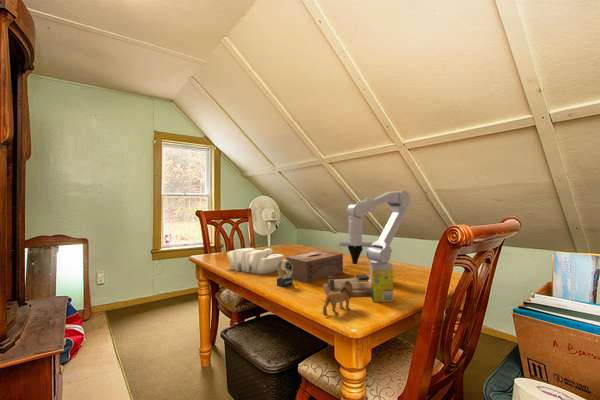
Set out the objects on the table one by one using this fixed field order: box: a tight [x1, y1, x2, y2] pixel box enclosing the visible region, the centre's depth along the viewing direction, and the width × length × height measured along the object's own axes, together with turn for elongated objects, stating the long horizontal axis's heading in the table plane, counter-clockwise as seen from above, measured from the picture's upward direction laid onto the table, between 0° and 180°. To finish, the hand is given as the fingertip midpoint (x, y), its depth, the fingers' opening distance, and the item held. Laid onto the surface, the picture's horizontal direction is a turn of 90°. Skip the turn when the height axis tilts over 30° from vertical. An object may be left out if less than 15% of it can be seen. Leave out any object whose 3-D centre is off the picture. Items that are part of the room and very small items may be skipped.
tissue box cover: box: [285, 249, 344, 284], centre depth 141 cm, size 26×14×10 cm, turn 132°
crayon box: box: [370, 270, 395, 303], centre depth 103 cm, size 7×3×12 cm, turn 91°
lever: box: [327, 273, 370, 284], centre depth 114 cm, size 16×5×6 cm, turn 92°
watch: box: [276, 259, 294, 288], centre depth 124 cm, size 6×8×11 cm
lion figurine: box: [322, 280, 353, 317], centre depth 94 cm, size 15×5×9 cm, turn 139°
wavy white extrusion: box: [226, 247, 285, 275], centre depth 156 cm, size 35×16×11 cm, turn 58°
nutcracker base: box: [322, 276, 372, 297], centre depth 114 cm, size 19×12×6 cm, turn 92°
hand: (354, 263), depth 120 cm, fingers closed
